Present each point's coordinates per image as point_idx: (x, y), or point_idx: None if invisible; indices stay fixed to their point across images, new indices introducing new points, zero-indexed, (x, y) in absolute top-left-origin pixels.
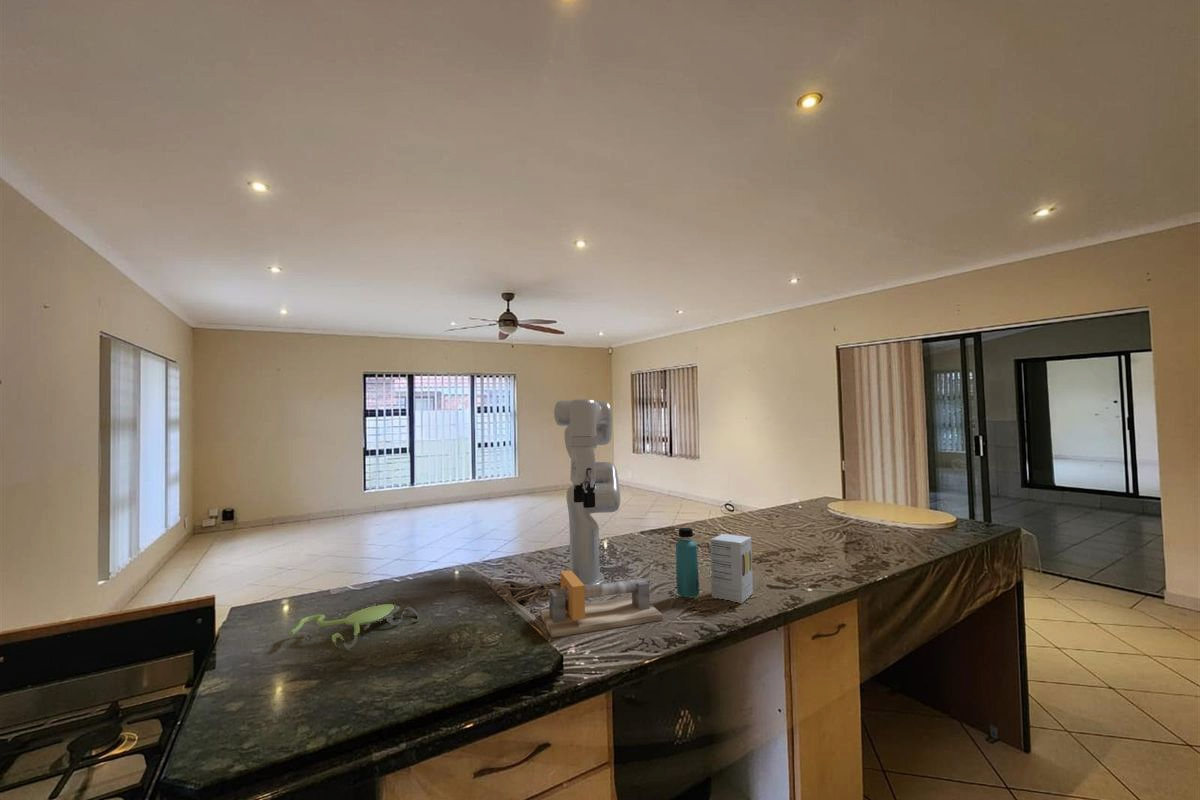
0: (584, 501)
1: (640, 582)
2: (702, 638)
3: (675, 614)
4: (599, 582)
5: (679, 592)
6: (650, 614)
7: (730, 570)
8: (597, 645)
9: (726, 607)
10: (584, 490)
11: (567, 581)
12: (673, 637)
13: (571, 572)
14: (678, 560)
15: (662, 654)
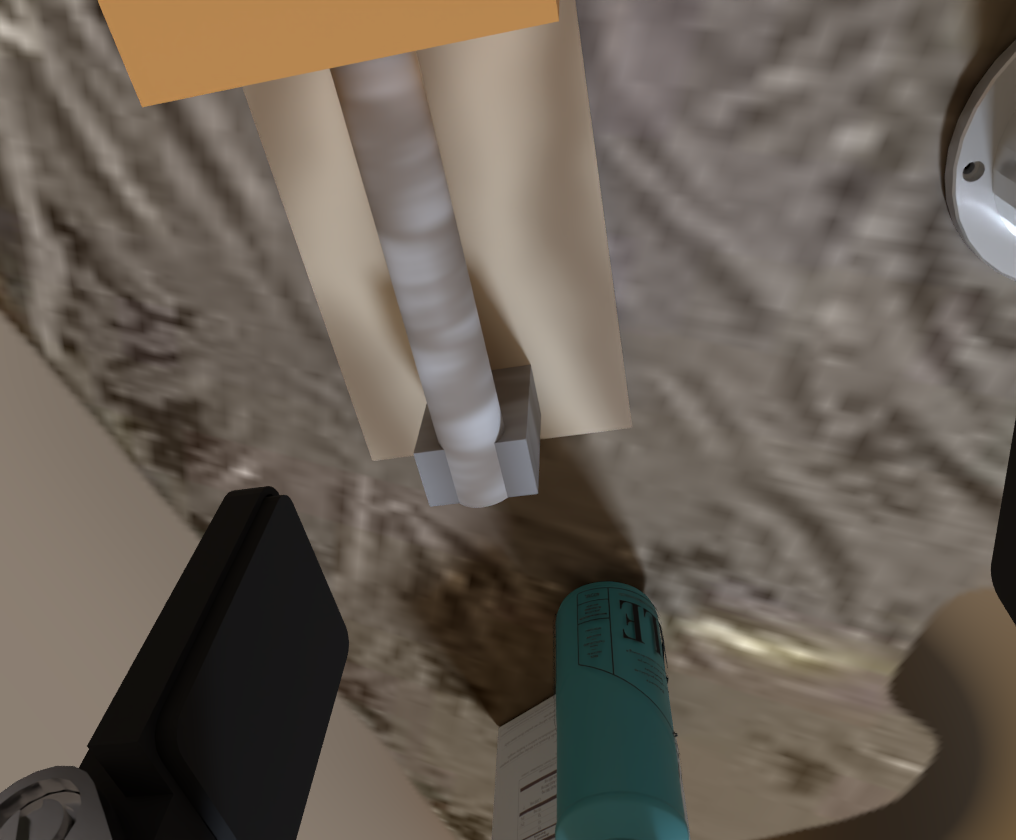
0: (187, 584)
1: (450, 470)
2: (200, 526)
3: (436, 507)
4: (975, 243)
5: (590, 591)
6: (372, 413)
7: (521, 830)
8: (94, 98)
9: (480, 679)
10: (71, 830)
11: None
12: (204, 439)
13: (489, 19)
14: (598, 723)
15: (48, 362)
